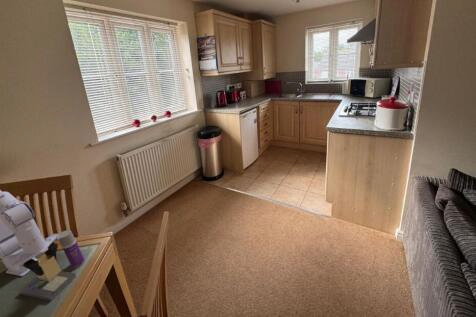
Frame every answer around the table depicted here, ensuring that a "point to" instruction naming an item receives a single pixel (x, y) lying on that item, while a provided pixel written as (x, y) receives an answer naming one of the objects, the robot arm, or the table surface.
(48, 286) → the rail plate
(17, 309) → the table surface
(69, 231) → the container
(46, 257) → the tan rectangular block
